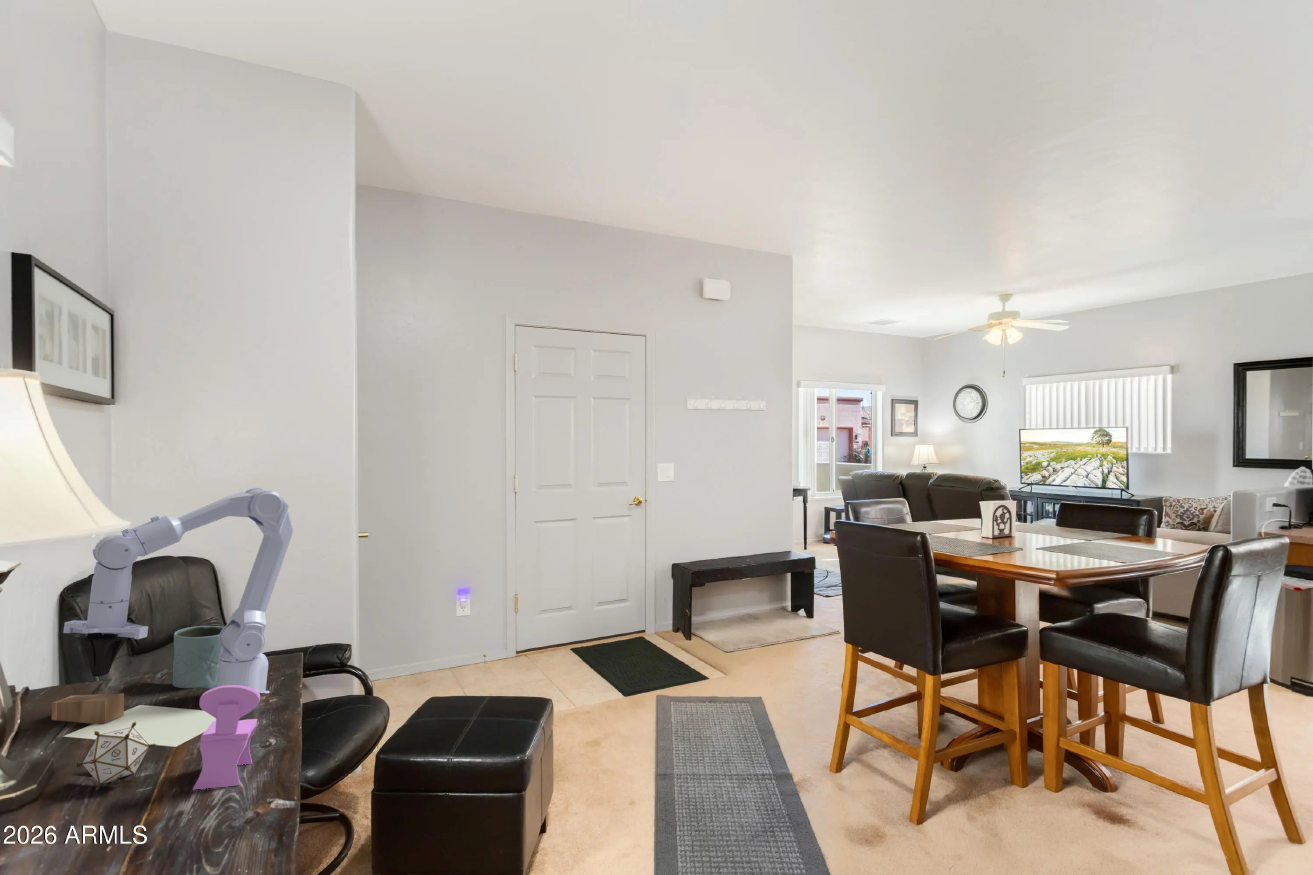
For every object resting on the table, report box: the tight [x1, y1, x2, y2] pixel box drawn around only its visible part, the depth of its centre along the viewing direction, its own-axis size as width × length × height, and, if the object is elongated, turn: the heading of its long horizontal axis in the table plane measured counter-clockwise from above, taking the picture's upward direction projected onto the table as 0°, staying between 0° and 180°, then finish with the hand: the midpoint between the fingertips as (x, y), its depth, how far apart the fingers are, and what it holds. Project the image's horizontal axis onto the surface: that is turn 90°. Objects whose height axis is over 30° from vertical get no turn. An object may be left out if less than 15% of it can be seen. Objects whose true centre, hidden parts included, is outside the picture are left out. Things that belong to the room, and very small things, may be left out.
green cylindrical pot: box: [171, 625, 225, 689], centre depth 143 cm, size 10×10×12 cm
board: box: [62, 704, 216, 748], centre depth 120 cm, size 16×20×1 cm
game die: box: [74, 722, 158, 791], centre depth 101 cm, size 9×8×10 cm
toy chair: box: [192, 685, 261, 791], centre depth 105 cm, size 8×9×15 cm
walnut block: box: [51, 692, 125, 725], centre depth 120 cm, size 4×4×10 cm
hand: (100, 674), depth 121 cm, fingers closed
